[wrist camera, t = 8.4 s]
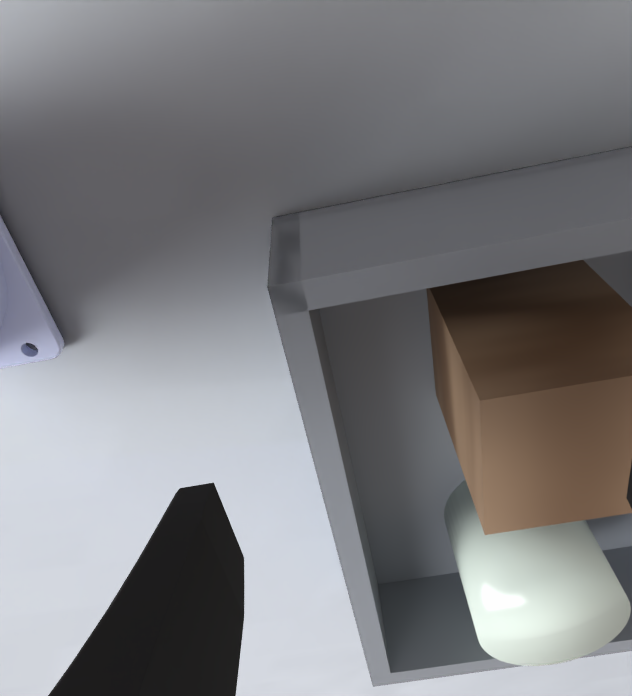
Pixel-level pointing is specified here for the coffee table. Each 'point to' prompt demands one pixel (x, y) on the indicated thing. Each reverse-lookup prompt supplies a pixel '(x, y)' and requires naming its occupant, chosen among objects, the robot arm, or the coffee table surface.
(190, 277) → the coffee table surface
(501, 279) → the walnut block
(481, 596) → the pale green cylinder
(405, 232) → the tote
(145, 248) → the coffee table surface
